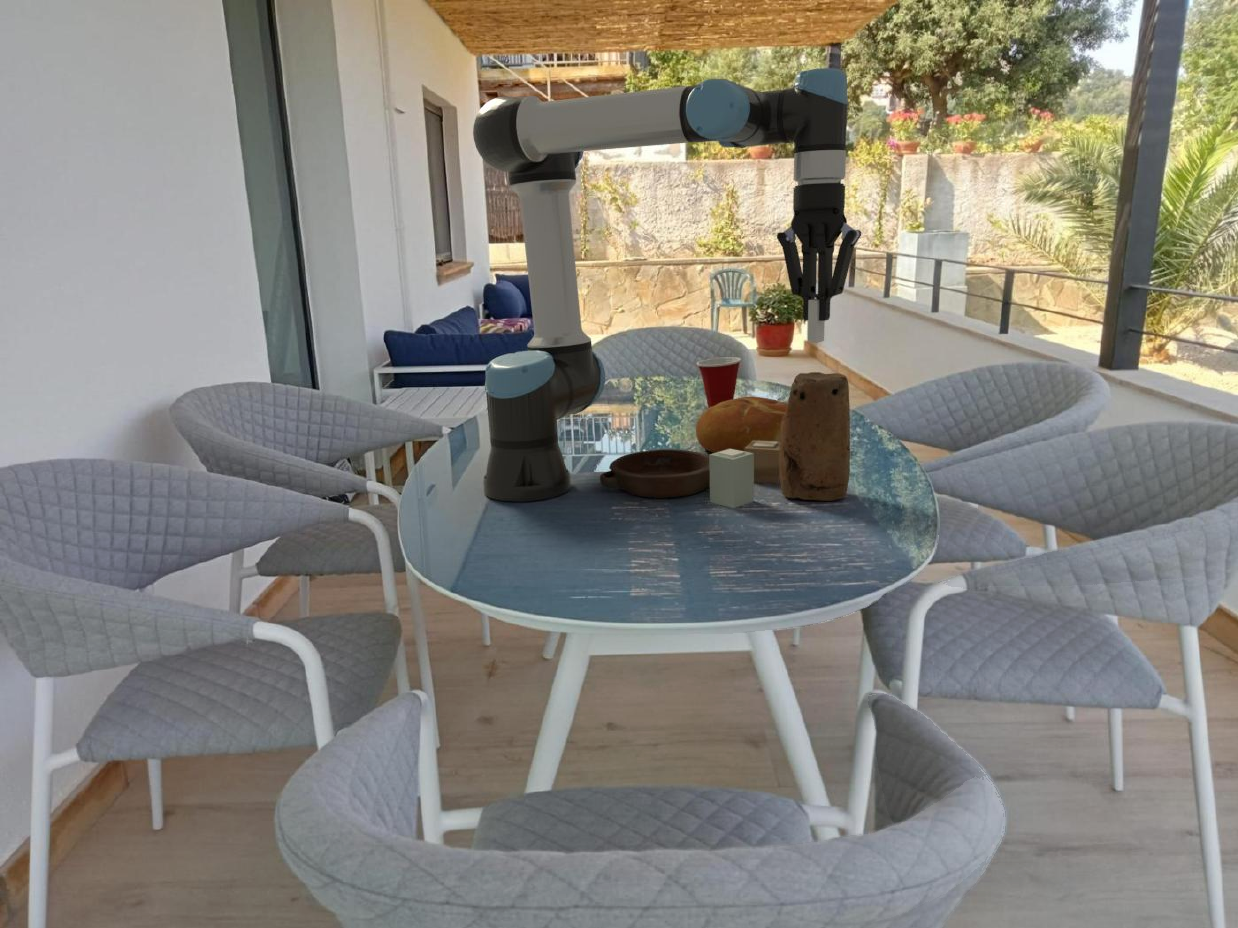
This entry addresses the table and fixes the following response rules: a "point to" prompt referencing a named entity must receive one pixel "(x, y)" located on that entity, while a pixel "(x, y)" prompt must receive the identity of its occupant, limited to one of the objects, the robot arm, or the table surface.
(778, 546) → the table surface
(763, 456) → the walnut cube
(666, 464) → the dish
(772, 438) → the bread
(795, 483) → the brown pitted rock
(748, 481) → the grey-green post
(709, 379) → the plastic cup
